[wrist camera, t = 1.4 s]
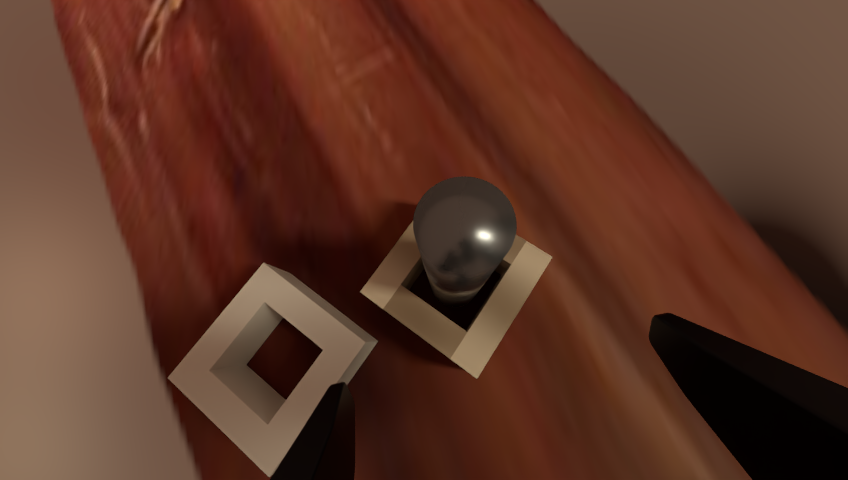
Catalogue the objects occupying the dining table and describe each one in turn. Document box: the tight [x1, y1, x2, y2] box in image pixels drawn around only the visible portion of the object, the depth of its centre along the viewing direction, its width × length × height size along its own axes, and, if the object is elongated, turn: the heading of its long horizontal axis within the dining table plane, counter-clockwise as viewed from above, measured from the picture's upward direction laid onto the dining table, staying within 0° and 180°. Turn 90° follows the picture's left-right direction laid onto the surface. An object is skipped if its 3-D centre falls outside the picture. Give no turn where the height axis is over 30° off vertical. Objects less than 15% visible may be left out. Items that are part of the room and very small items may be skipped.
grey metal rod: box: [413, 177, 517, 308], centre depth 16 cm, size 3×3×12 cm
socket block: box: [168, 263, 378, 477], centre depth 20 cm, size 8×8×4 cm
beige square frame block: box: [360, 221, 552, 379], centre depth 20 cm, size 8×8×4 cm
